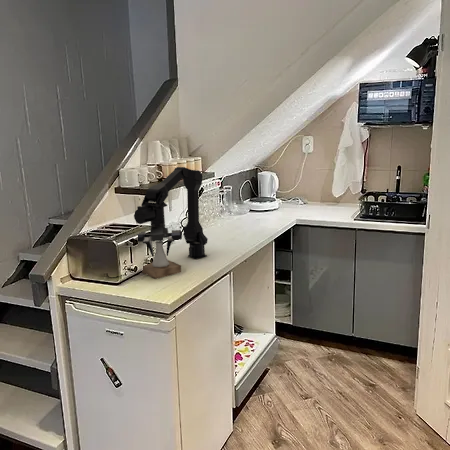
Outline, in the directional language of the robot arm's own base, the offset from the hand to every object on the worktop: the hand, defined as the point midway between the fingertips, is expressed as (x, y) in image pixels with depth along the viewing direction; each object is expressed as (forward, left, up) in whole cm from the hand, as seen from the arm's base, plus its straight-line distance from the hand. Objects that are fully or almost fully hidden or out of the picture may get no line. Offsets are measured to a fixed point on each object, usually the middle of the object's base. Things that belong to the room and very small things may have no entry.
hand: (160, 256), depth 188 cm
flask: (0, 0, -4) cm, 4 cm away
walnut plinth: (0, 0, -7) cm, 7 cm away
